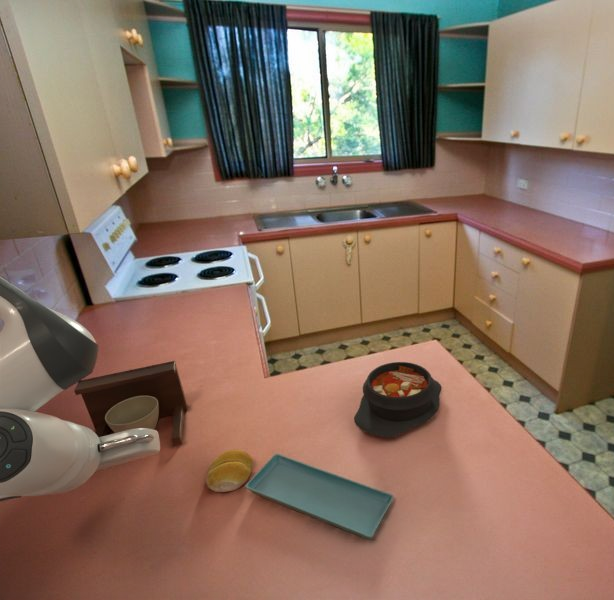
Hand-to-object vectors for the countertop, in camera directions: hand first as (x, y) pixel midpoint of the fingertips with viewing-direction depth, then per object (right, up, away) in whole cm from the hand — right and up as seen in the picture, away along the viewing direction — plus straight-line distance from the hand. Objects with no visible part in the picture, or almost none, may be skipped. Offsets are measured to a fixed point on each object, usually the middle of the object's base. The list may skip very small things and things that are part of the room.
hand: (97, 463), depth 68 cm
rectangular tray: (+34, -10, +9) cm, 37 cm away
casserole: (+48, 0, +33) cm, 58 cm away
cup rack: (-9, -4, +26) cm, 28 cm away
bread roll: (+15, -8, +15) cm, 23 cm away
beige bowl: (-9, -4, +27) cm, 28 cm away
